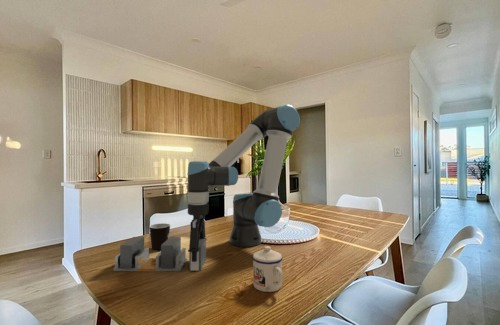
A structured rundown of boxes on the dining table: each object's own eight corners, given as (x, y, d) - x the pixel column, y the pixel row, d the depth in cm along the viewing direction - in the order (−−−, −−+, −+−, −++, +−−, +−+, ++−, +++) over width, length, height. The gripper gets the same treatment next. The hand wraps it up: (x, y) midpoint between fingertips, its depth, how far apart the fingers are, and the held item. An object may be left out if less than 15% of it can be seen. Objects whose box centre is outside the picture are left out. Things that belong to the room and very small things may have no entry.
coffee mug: (163, 252, 104) (163, 228, 104) (144, 251, 106) (145, 227, 106) (177, 244, 115) (177, 222, 115) (160, 242, 117) (160, 221, 117)
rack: (187, 260, 95) (187, 236, 96) (179, 271, 85) (180, 245, 86) (127, 260, 95) (127, 236, 95) (112, 271, 85) (112, 245, 85)
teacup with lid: (247, 282, 78) (247, 245, 78) (271, 276, 82) (271, 240, 82) (268, 301, 67) (268, 257, 67) (294, 292, 72) (294, 252, 72)
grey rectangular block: (205, 259, 96) (205, 238, 97) (200, 270, 86) (200, 247, 87) (195, 259, 96) (195, 238, 97) (189, 270, 86) (189, 247, 87)
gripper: (194, 198, 103) (194, 252, 103) (179, 208, 80) (179, 277, 80) (212, 199, 103) (212, 253, 103) (202, 208, 80) (202, 277, 80)
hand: (197, 263), depth 91 cm, fingers closed on grey rectangular block, 10 cm apart
